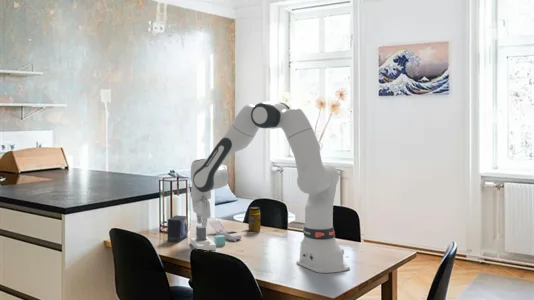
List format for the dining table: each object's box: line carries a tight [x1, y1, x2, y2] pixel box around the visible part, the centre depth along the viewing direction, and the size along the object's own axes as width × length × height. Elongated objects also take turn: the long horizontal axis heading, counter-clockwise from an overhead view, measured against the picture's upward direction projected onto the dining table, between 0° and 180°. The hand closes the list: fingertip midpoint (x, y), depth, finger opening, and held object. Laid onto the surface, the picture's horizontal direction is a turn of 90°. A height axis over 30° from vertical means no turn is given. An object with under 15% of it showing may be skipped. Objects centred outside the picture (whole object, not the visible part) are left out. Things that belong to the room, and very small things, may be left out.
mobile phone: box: [208, 220, 242, 242], centre depth 255 cm, size 6×6×25 cm
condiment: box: [242, 206, 264, 234], centre depth 266 cm, size 7×8×12 cm
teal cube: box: [213, 234, 226, 247], centre depth 239 cm, size 4×4×4 cm
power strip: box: [190, 236, 217, 251], centre depth 235 cm, size 16×8×3 cm, turn 20°
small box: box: [167, 214, 188, 243], centre depth 249 cm, size 11×6×10 cm, turn 168°
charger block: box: [195, 225, 207, 241], centre depth 238 cm, size 4×4×8 cm
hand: (201, 225), depth 238 cm, fingers open, 8 cm apart
